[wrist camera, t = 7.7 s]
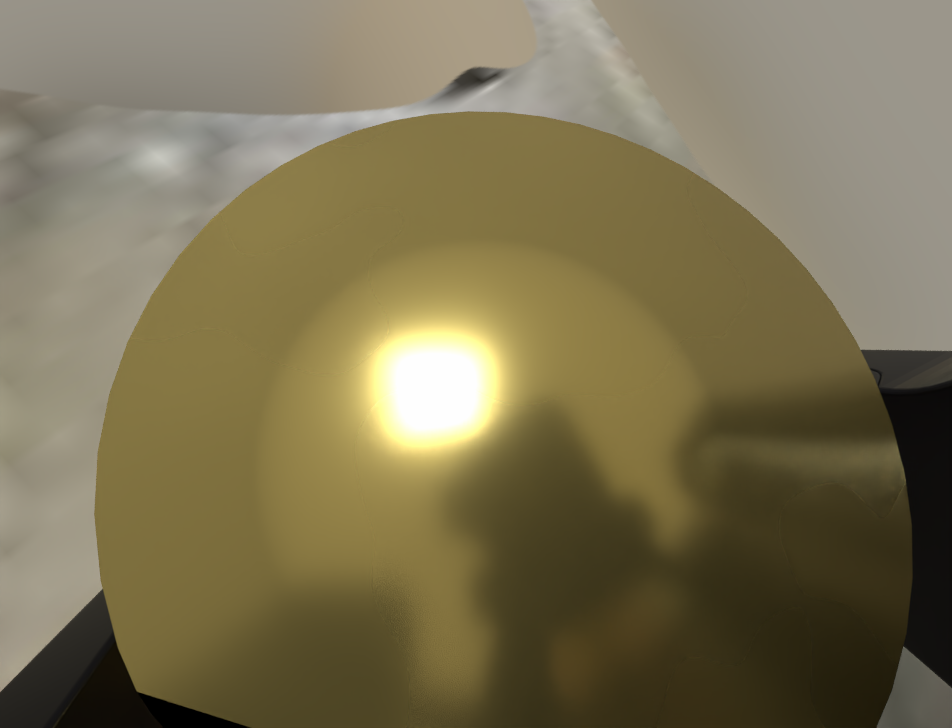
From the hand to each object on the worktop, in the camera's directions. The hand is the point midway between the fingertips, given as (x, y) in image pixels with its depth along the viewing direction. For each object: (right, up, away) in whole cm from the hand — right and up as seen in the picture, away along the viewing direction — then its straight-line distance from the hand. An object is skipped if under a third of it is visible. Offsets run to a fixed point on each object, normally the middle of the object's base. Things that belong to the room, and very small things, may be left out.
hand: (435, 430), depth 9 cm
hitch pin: (0, -4, +7) cm, 9 cm away
